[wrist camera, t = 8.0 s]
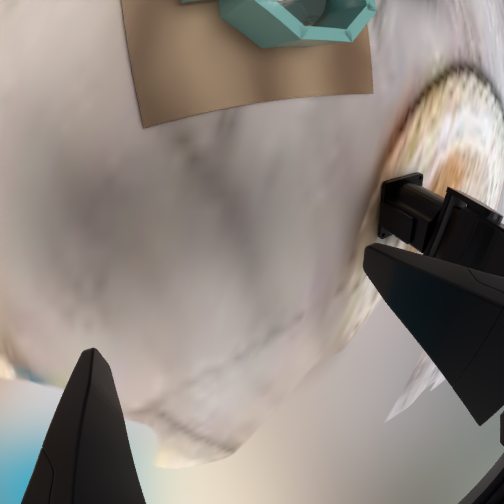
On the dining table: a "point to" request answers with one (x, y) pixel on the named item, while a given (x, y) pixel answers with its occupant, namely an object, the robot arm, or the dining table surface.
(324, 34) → the teal handled cup
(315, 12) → the plunger
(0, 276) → the dining table surface
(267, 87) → the board
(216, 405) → the dining table surface
